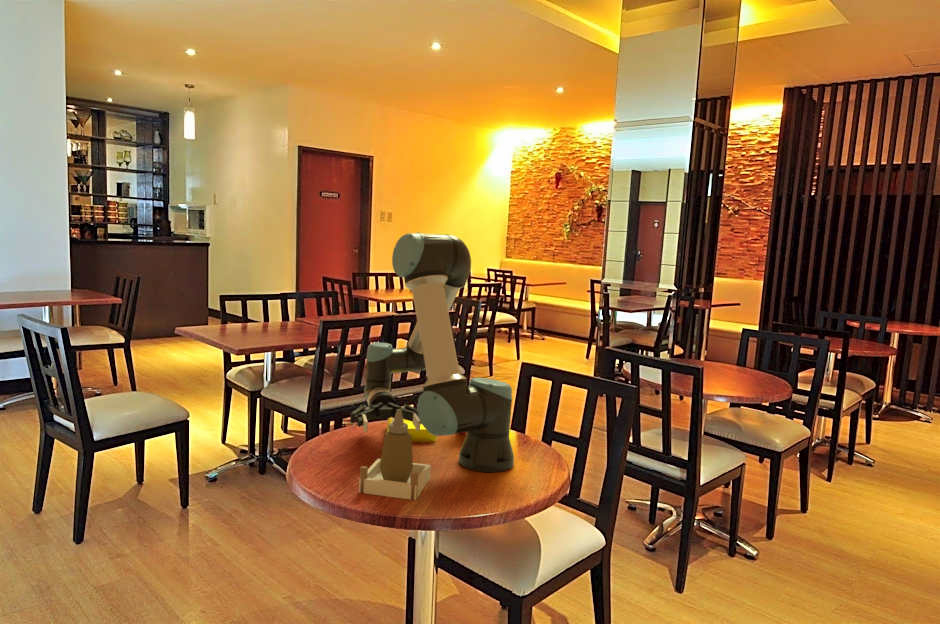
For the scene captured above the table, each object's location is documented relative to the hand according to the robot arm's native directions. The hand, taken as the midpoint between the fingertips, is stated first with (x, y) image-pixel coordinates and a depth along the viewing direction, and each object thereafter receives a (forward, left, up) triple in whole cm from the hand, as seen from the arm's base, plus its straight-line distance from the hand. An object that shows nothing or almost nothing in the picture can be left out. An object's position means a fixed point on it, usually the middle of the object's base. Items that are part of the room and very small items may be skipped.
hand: (392, 426), depth 166 cm
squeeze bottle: (-4, +8, -11) cm, 14 cm away
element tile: (+3, -32, -13) cm, 34 cm away
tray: (-4, +8, -12) cm, 15 cm away
